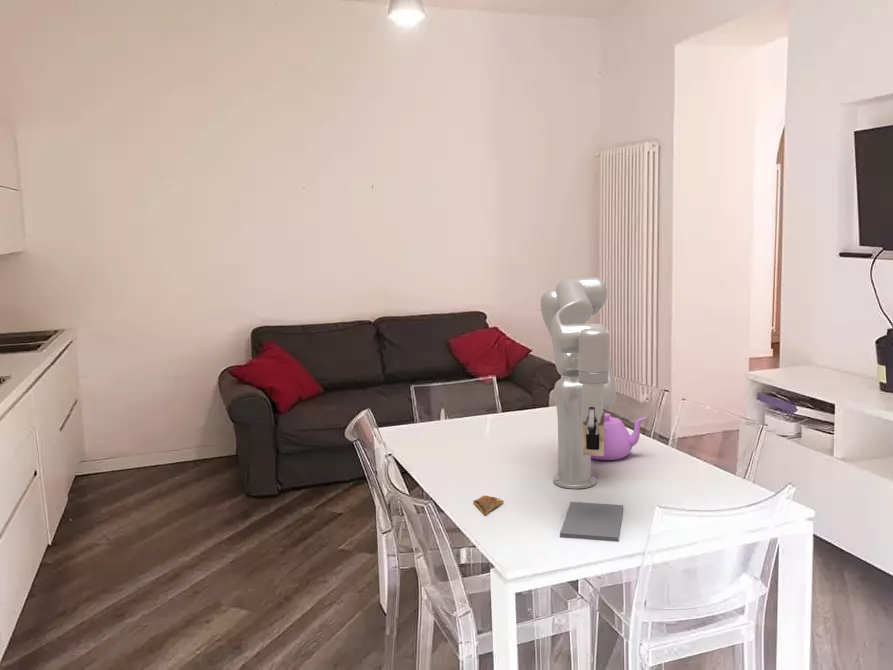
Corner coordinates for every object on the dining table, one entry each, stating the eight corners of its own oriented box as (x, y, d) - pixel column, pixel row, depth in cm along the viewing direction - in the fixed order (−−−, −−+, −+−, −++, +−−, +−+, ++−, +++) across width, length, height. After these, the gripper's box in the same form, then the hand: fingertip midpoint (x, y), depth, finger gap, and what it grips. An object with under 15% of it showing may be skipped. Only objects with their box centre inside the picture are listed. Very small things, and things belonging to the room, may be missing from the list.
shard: (485, 518, 213) (485, 511, 213) (460, 513, 217) (460, 506, 217) (505, 504, 222) (504, 498, 222) (481, 500, 226) (480, 494, 226)
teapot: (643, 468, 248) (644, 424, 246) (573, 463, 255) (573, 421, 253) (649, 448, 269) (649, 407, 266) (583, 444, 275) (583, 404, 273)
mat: (570, 505, 219) (570, 501, 219) (623, 508, 215) (623, 505, 215) (560, 536, 198) (560, 533, 198) (618, 541, 194) (618, 537, 194)
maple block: (585, 449, 211) (585, 412, 209) (604, 450, 210) (604, 413, 208) (583, 455, 206) (583, 417, 205) (603, 456, 205) (603, 417, 203)
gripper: (582, 370, 214) (582, 436, 217) (574, 383, 198) (575, 455, 201) (611, 370, 212) (611, 437, 215) (605, 384, 196) (606, 456, 199)
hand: (593, 445), depth 208 cm, fingers closed on maple block, 5 cm apart
